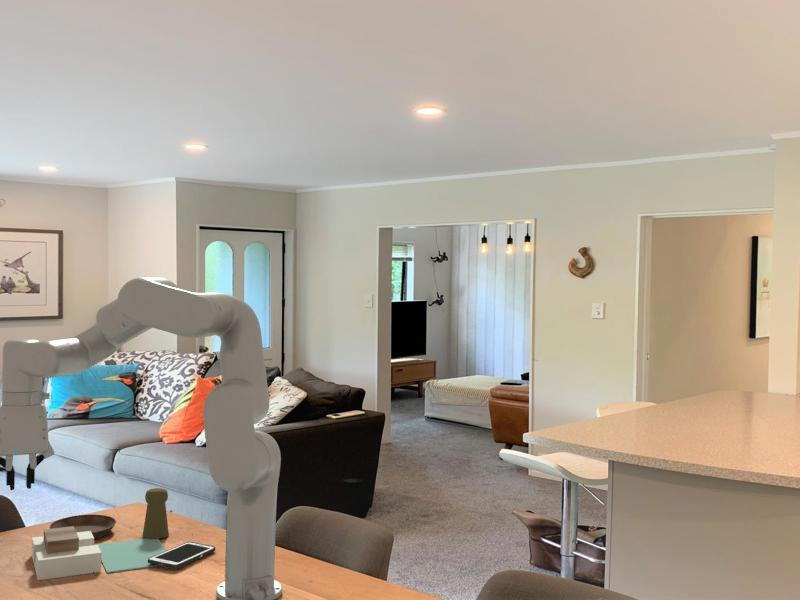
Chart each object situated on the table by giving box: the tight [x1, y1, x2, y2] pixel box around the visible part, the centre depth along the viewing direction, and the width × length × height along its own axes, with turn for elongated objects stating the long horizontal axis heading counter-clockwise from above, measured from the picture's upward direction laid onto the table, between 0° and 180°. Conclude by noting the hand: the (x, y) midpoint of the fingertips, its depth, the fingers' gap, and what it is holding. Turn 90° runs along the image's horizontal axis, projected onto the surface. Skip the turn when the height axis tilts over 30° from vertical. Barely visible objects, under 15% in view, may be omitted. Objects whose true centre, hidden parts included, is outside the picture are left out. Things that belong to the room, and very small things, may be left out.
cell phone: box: [148, 541, 216, 570], centre depth 176 cm, size 8×15×1 cm, turn 158°
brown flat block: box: [43, 526, 79, 554], centre depth 171 cm, size 9×6×2 cm, turn 29°
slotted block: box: [31, 531, 102, 581], centre depth 171 cm, size 16×12×4 cm
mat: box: [95, 538, 168, 574], centre depth 178 cm, size 19×14×1 cm
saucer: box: [48, 514, 117, 540], centre depth 192 cm, size 15×15×3 cm
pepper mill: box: [142, 487, 170, 539], centre depth 191 cm, size 6×6×11 cm
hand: (20, 487), depth 167 cm, fingers open, 2 cm apart
